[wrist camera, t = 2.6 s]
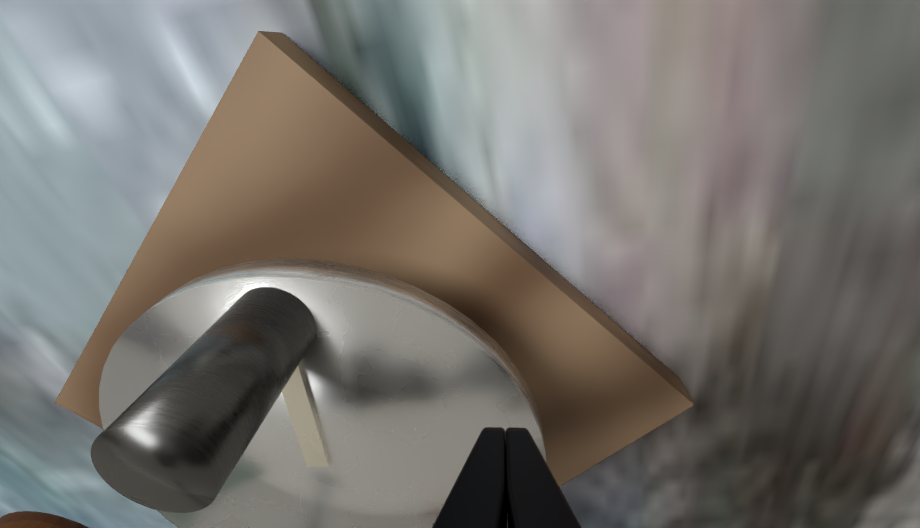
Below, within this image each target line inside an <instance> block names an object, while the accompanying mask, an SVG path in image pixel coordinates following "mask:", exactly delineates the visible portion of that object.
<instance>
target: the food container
mask: <svg viewBox="0 0 920 528" xmlns="http://www.w3.org/2000/svg"><path fill="white" fill-rule="evenodd" d="M0 528H87V527H85V526H84V525H82V524H80V523H77V522H74V521H71V520H69V519H66V518H63V517H60V516H56V515H52V514H47V513H41V512H31V511H23V512H14V513H9V514H7V515H4V516H2V517H1V518H0Z"/></svg>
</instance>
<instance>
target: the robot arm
mask: <svg viewBox="0 0 920 528" xmlns="http://www.w3.org/2000/svg"><path fill="white" fill-rule="evenodd" d="M505 442H506V444H505ZM507 521H508V526H507ZM432 528H581V526H580V524H579V522H578V520H577V519H576V517H575V515H574V513H573V511H572V509H571V508H570V506H569V504H568V502H567V500H566V498H565V496H564V495H563V493H562V491H561V489H560V487H559V485H558V484H557V482H556V480H555V478H554V476H553V474H552V473H551V471H550V469H549V467H548V465H547V463H546V461H545V460H544V458H543V456H542V454H541V452H540V450H539V449H538V447H537V445H536V443H535V441H534V439H533V438H532V436H531V434H530V432H529V431H528V429H526V428H518V427H509V428H507V429H506V431H505V430H504V428H502V427H485V428H483V429H482V431H481V433H480V435H479V436H478V438H477V440H476V442H475V444H474V446H473V448H472V450H471V452H470V454H469V456H468V458H467V460H466V462H465V464H464V466H463V468H462V470H461V472H460V474H459V475H458V477H457V479H456V481H455V483H454V485H453V487H452V489H451V491H450V493H449V495H448V497H447V499H446V501H445V503H444V505H443V507H442V509H441V511H440V513H439V514H438V516H437V518H436V520H435V522H434V524H433V526H432Z"/></svg>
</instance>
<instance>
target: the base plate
mask: <svg viewBox="0 0 920 528" xmlns="http://www.w3.org/2000/svg"><path fill="white" fill-rule="evenodd" d="M271 259H312V260H321V261H328V262H334V263H341V264H348V265H352V266H356V267H360V268H363V269H367V270H371V271H375V272H378V273H382V274H385V275H388V276H390V277H393V278H395V279H398V280H400V281H403V282H406V283H408V284H411V285H413V286H416V287H417V288H419V289H421V290H423V291H425V292H427V293H429V294H431V295H433V296H435V297H437V298H438V299H440V300H442V301H444V302H446V303H447V304H449V305H450V306H452V307H453V308H455V309H456V310H458V311H459V312H460V313H462V314H463V315H465V316H466V317H468V318H469V319H471V320H472V321H473V322H474V323H475V324H477V325H478V326H479V327H480V328H481V329H482V330H483V331H485V332H486V333H487V334H488V335H489V336H490V337H491V338H492V339H494V340H495V341H496V343H497V344H498V345H499V346H500V347H501V348H502V349H503V351H504V352H505V353H506V354H507V355H508V356H509V357H510V359H511V360H512V361H513V362H514V364H515V365H516V367H517V369H518V370H519V372H520V373H521V375H522V376H523V378H524V379H525V381H526V382H527V384H528V387H529V389H530V391H531V393H532V396H533V398H534V400H535V402H536V404H537V408H538V412H539V416H540V420H541V424H542V429H543V437H544V445H545V453H546V463H547V465H548V467H549V469H550V471H551V473H552V474H553V476H554V478H555V480H556V482H557V484H558V485H559V487H560V486H561V485H563V484H565V483H566V482H568V481H569V480H571V479H573V478H574V477H576V476H578V475H579V474H581V473H583V472H584V471H586V470H588V469H589V468H591V467H593V466H594V465H596V464H598V463H599V462H601V461H603V460H604V459H606V458H608V457H609V456H611V455H612V454H614V453H616V452H617V451H619V450H621V449H622V448H624V447H626V446H627V445H629V444H631V443H632V442H634V441H636V440H637V439H639V438H641V437H642V436H644V435H646V434H647V433H649V432H651V431H652V430H654V429H655V428H657V427H659V426H660V425H662V424H664V423H665V422H667V421H669V420H670V419H672V418H674V417H675V416H677V415H679V414H680V413H682V412H684V411H685V410H687V409H689V408H690V407H692V406H694V403H693V401H692V400H691V398H690V396H689V394H688V392H687V391H686V389H685V387H684V385H683V383H682V382H681V380H680V378H678V377H677V376H676V375H675V374H674V373H673V372H671V371H670V370H669V369H668V368H667V367H666V366H665V365H663V364H662V363H661V362H660V361H659V360H658V359H657V358H655V357H654V356H653V355H652V354H651V353H650V352H648V351H647V350H646V349H645V348H644V347H643V346H642V345H640V344H639V343H638V342H637V341H636V340H635V339H634V338H632V337H631V336H630V335H629V334H628V333H627V332H626V331H624V330H623V329H622V328H621V327H620V326H619V325H617V324H616V323H615V322H614V321H613V320H612V319H611V318H609V317H608V316H607V315H606V314H605V313H604V312H603V311H601V310H600V309H599V308H598V307H597V306H596V305H594V304H593V303H592V302H591V301H590V300H589V299H588V298H586V297H585V296H584V295H583V294H582V293H581V292H580V291H578V290H577V289H576V288H575V287H574V286H573V285H571V284H570V283H569V282H568V281H567V280H566V279H565V278H563V277H562V276H561V275H560V274H559V273H558V272H557V271H555V270H554V269H553V268H552V267H551V266H550V265H548V264H547V263H546V262H545V261H544V260H543V259H542V258H540V257H539V256H538V255H537V254H536V253H535V252H534V251H532V250H531V249H530V248H529V247H528V246H527V245H526V244H524V243H523V242H522V241H521V240H520V239H519V238H517V237H516V236H515V235H514V234H513V233H512V232H511V231H509V230H508V229H507V228H506V227H505V226H504V225H503V224H501V223H500V222H499V221H498V220H497V219H496V218H494V217H493V216H492V215H491V214H490V213H489V212H488V211H486V210H485V209H484V208H483V207H482V206H481V205H480V204H478V203H477V202H476V201H475V200H474V199H473V198H471V197H470V196H469V195H468V194H467V193H466V192H465V191H463V190H462V189H461V188H460V187H459V186H458V185H457V184H455V183H454V182H453V181H452V180H451V179H450V178H448V177H447V176H446V175H445V174H444V173H443V172H442V171H440V170H439V169H438V168H437V167H436V166H435V165H434V164H432V163H431V162H430V161H429V160H428V159H427V158H426V157H424V156H423V155H422V154H421V153H420V152H419V151H417V150H416V149H415V148H414V147H413V146H412V145H411V144H409V143H408V142H407V141H406V140H405V139H404V138H403V137H401V136H400V135H399V134H398V133H397V132H396V131H394V130H393V129H392V128H391V127H390V126H389V125H388V124H386V123H385V122H384V121H383V120H382V119H381V118H380V117H378V116H377V115H376V114H375V113H374V112H373V111H371V110H370V109H369V108H368V107H367V106H366V105H365V104H363V103H362V102H361V101H360V100H359V99H358V98H357V97H355V96H354V95H353V94H352V93H351V92H350V91H349V90H347V89H346V88H345V87H344V86H343V85H342V84H340V83H339V82H338V81H337V80H336V79H335V78H334V77H332V76H331V75H330V74H329V73H328V72H327V71H326V70H324V69H323V68H322V67H321V66H320V65H319V64H317V63H316V62H315V61H314V60H313V59H312V58H311V57H309V56H308V55H307V54H306V53H305V52H304V51H303V50H301V49H300V48H299V47H298V46H297V45H296V44H294V43H293V42H292V41H291V40H290V39H289V38H288V37H286V36H285V35H284V34H283V33H279V32H264V31H258V33H257V35H256V37H255V38H254V40H253V42H252V44H251V46H250V48H249V49H248V51H247V53H246V55H245V57H244V58H243V60H242V62H241V64H240V66H239V68H238V69H237V71H236V73H235V75H234V77H233V79H232V80H231V82H230V84H229V86H228V88H227V89H226V91H225V93H224V95H223V97H222V99H221V100H220V102H219V104H218V106H217V108H216V110H215V111H214V113H213V115H212V117H211V119H210V120H209V122H208V124H207V126H206V128H205V130H204V131H203V133H202V135H201V137H200V139H199V141H198V142H197V144H196V146H195V148H194V150H193V151H192V153H191V155H190V157H189V159H188V161H187V162H186V164H185V166H184V168H183V170H182V172H181V173H180V175H179V177H178V179H177V181H176V182H175V184H174V186H173V188H172V190H171V192H170V193H169V195H168V197H167V199H166V201H165V203H164V204H163V206H162V208H161V210H160V212H159V213H158V215H157V217H156V219H155V221H154V223H153V224H152V226H151V228H150V230H149V232H148V234H147V235H146V237H145V239H144V241H143V243H142V244H141V246H140V248H139V250H138V252H137V254H136V255H135V257H134V259H133V261H132V263H131V265H130V266H129V268H128V270H127V272H126V274H125V275H124V277H123V279H122V281H121V283H120V285H119V286H118V288H117V290H116V292H115V294H114V296H113V297H112V299H111V301H110V303H109V305H108V306H107V308H106V310H105V312H104V314H103V316H102V317H101V319H100V321H99V323H98V325H97V327H96V328H95V330H94V332H93V334H92V336H91V337H90V339H89V341H88V343H87V345H86V347H85V348H84V350H83V352H82V354H81V356H80V358H79V359H78V361H77V363H76V365H75V367H74V368H73V370H72V372H71V374H70V376H69V378H68V379H67V381H66V383H65V385H64V387H63V389H62V390H61V392H60V394H59V396H58V398H57V399H56V401H55V403H56V404H58V405H60V406H62V407H64V408H66V409H67V410H69V411H71V412H73V413H75V414H77V415H79V416H81V417H82V418H84V419H86V420H88V421H90V422H92V423H94V424H95V425H97V426H99V427H101V428H103V426H102V421H101V415H100V410H99V386H100V381H101V376H102V372H103V367H104V365H105V362H106V360H107V358H108V356H109V354H110V351H111V349H112V347H113V346H114V344H115V343H116V342H117V340H118V339H119V338H120V336H121V335H122V334H123V332H124V331H125V330H126V329H127V328H128V327H129V326H130V325H131V324H132V323H133V322H134V321H136V320H137V319H138V318H139V317H140V316H141V315H142V314H143V313H145V312H146V311H147V310H149V309H150V308H151V307H153V306H154V305H155V304H157V303H158V302H159V301H160V300H162V299H163V298H164V297H166V296H167V295H168V294H170V293H171V292H173V291H174V290H176V289H178V288H179V287H181V286H183V285H184V284H186V283H188V282H189V281H191V280H193V279H194V278H197V277H199V276H202V275H205V274H207V273H210V272H212V271H215V270H217V269H220V268H224V267H228V266H232V265H237V264H241V263H245V262H250V261H261V260H271Z"/></svg>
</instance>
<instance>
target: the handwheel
mask: <svg viewBox="0 0 920 528" xmlns="http://www.w3.org/2000/svg"><path fill="white" fill-rule="evenodd" d="M99 410H100V415H101V421H102V426H103V430H104V431H103V432H102V433H101V434H100V435H99V436H98V437H97V438H96V440H95V441H94V443H93V445H92V448H91V458H92V462H93V464H94V467H95V468H96V470H97V472H98V473H99V474H100V476H101V477H102V478H103V479H104V480H105V481H106V483H108V484H109V485H110V486H111V487H112V488H113V489H115V490H116V491H117V492H119V493H120V494H122V495H123V496H125V497H127V498H128V499H130V500H132V501H134V502H136V503H139V504H141V505H143V506H146V507H149V508H152V509H156V510H157V511H159V512H160V513H161V514H162V515H163V516H164V517H165V518H166V519H168V520H169V521H170V522H171V523H173V524H174V525H175V526H177V527H178V528H432V526H433V524H434V522H435V520H436V518H437V516H438V514H439V513H440V511H441V509H442V507H443V505H444V503H445V501H446V499H447V497H448V495H449V493H450V491H451V489H452V487H453V485H454V483H455V481H456V479H457V477H458V475H459V474H460V472H461V470H462V468H463V466H464V464H465V462H466V460H467V458H468V456H469V454H470V452H471V450H472V448H473V446H474V444H475V442H476V440H477V438H478V436H479V435H480V433H481V431H482V429H483V428H485V427H502V428H504V430H505V431H506V429H507V428H509V427H518V428H526V429H528V431H529V432H530V434H531V436H532V438H533V439H534V441H535V443H536V445H537V447H538V449H539V450H540V452H541V454H542V456H543V458H544V460H545V461H546V453H545V445H544V437H543V429H542V424H541V420H540V416H539V412H538V408H537V404H536V402H535V400H534V398H533V396H532V393H531V391H530V389H529V387H528V384H527V382H526V381H525V379H524V378H523V376H522V375H521V373H520V372H519V370H518V369H517V367H516V365H515V364H514V362H513V361H512V360H511V359H510V357H509V356H508V355H507V354H506V353H505V352H504V351H503V349H502V348H501V347H500V346H499V345H498V344H497V343H496V341H495V340H494V339H492V338H491V337H490V336H489V335H488V334H487V333H486V332H485V331H483V330H482V329H481V328H480V327H479V326H478V325H477V324H475V323H474V322H473V321H472V320H471V319H469V318H468V317H466V316H465V315H463V314H462V313H460V312H459V311H458V310H456V309H455V308H453V307H452V306H450V305H449V304H447V303H446V302H444V301H442V300H440V299H438V298H437V297H435V296H433V295H431V294H429V293H427V292H425V291H423V290H421V289H419V288H417V287H416V286H413V285H411V284H408V283H406V282H403V281H400V280H398V279H395V278H393V277H390V276H388V275H385V274H382V273H378V272H375V271H371V270H367V269H363V268H360V267H356V266H352V265H348V264H341V263H334V262H328V261H321V260H312V259H271V260H261V261H250V262H245V263H241V264H237V265H232V266H228V267H224V268H220V269H217V270H215V271H212V272H210V273H207V274H205V275H202V276H199V277H197V278H194V279H193V280H191V281H189V282H188V283H186V284H184V285H183V286H181V287H179V288H178V289H176V290H174V291H173V292H171V293H170V294H168V295H167V296H166V297H164V298H163V299H162V300H160V301H159V302H158V303H157V304H155V305H154V306H153V307H151V308H150V309H149V310H147V311H146V312H145V313H143V314H142V315H141V316H140V317H139V318H138V319H137V320H136V321H134V322H133V323H132V324H131V325H130V326H129V327H128V328H127V329H126V330H125V331H124V332H123V334H122V335H121V336H120V338H119V339H118V340H117V342H116V343H115V344H114V346H113V347H112V349H111V351H110V354H109V356H108V358H107V360H106V362H105V365H104V367H103V372H102V376H101V381H100V386H99ZM505 444H506V442H505ZM507 526H508V521H507Z"/></svg>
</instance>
